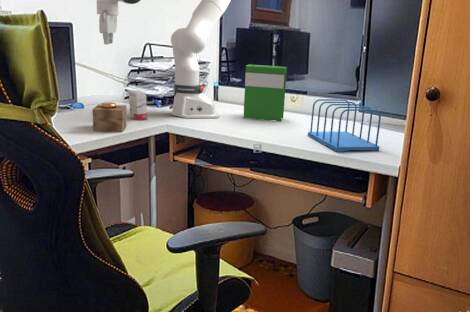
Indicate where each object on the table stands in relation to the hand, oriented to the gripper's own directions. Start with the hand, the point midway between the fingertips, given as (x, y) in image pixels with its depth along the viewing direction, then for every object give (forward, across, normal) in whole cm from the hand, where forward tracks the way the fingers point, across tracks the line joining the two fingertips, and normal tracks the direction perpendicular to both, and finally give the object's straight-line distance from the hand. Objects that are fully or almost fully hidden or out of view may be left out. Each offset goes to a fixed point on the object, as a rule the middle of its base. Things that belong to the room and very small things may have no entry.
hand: (108, 43), depth 204 cm
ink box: (+31, -6, -13) cm, 34 cm away
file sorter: (+32, -42, -94) cm, 108 cm away
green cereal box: (+31, +3, -70) cm, 77 cm away
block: (+31, -28, -5) cm, 42 cm away
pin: (+31, -28, -4) cm, 42 cm away
